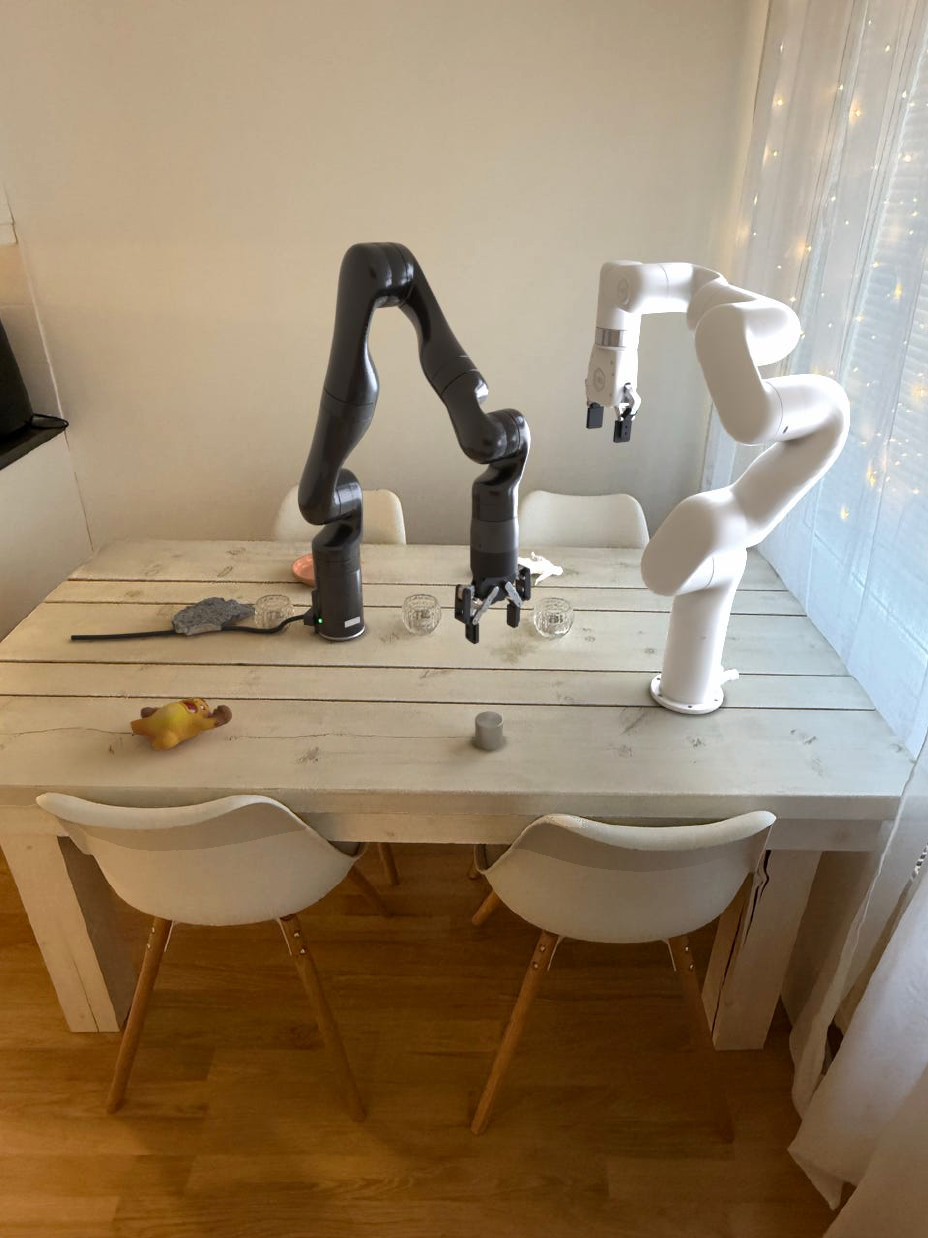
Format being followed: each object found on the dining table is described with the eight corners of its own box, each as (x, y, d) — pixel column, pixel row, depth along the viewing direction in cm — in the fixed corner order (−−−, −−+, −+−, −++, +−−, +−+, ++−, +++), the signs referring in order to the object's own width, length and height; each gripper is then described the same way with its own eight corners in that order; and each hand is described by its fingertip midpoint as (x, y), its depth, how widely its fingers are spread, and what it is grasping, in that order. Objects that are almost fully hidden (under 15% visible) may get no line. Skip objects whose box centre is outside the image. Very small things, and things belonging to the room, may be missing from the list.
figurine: (483, 589, 181) (563, 599, 182) (486, 568, 179) (567, 578, 180) (482, 559, 197) (556, 568, 198) (485, 539, 194) (560, 548, 195)
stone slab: (156, 626, 166) (154, 613, 164) (223, 596, 177) (221, 584, 176) (194, 646, 159) (192, 633, 158) (261, 614, 171) (259, 601, 169)
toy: (124, 709, 134) (215, 682, 140) (135, 746, 135) (224, 717, 142) (132, 722, 124) (229, 692, 131) (144, 761, 125) (239, 730, 132)
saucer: (304, 559, 195) (303, 548, 194) (369, 564, 193) (368, 552, 192) (281, 589, 181) (280, 576, 180) (351, 594, 179) (351, 581, 178)
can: (504, 749, 131) (505, 726, 129) (476, 750, 131) (476, 728, 129) (500, 732, 135) (500, 710, 133) (473, 734, 135) (473, 712, 133)
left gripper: (474, 561, 119) (474, 656, 127) (544, 537, 127) (540, 629, 135) (442, 545, 124) (444, 638, 132) (512, 524, 132) (510, 613, 140)
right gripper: (573, 331, 148) (567, 424, 156) (624, 347, 134) (614, 449, 142) (609, 328, 150) (601, 421, 158) (663, 345, 136) (650, 445, 144)
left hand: (493, 633), depth 133 cm, fingers open, 8 cm apart
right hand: (607, 434), depth 150 cm, fingers open, 9 cm apart
